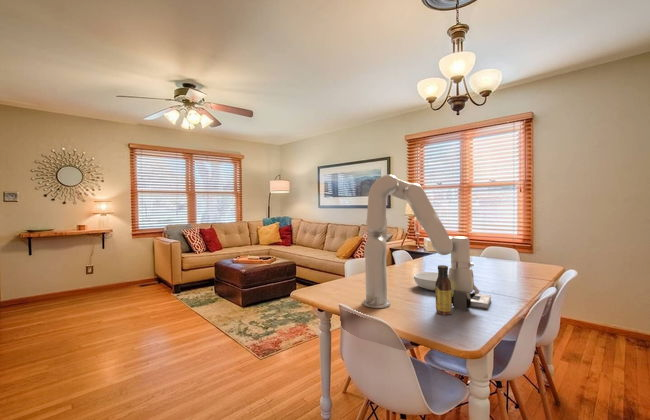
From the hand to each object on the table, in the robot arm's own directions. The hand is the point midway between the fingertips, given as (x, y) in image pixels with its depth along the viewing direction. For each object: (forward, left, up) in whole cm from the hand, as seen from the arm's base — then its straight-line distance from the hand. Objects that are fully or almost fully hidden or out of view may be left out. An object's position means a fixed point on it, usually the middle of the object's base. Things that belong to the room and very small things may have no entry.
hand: (460, 306), depth 134 cm
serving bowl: (+27, +18, -1) cm, 32 cm away
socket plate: (+11, -3, -1) cm, 11 cm away
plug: (0, 0, -1) cm, 1 cm away
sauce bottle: (-10, +5, -1) cm, 11 cm away
